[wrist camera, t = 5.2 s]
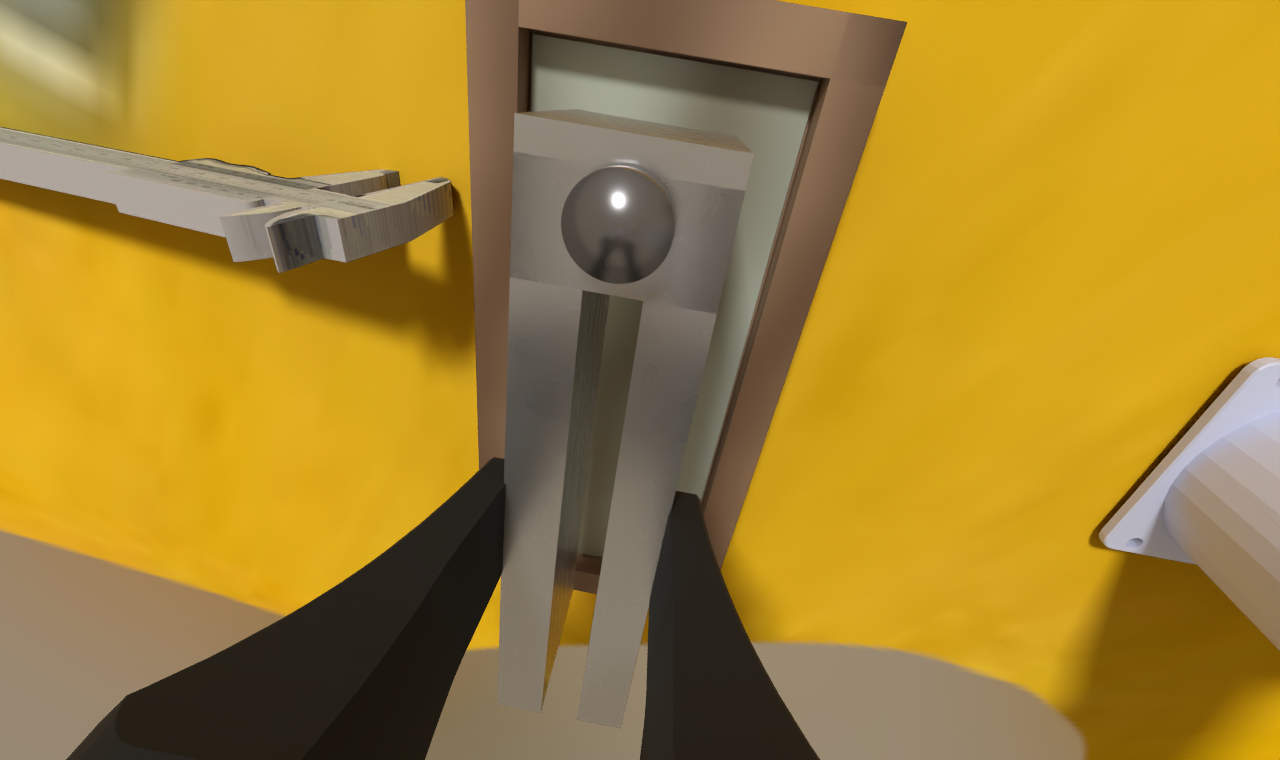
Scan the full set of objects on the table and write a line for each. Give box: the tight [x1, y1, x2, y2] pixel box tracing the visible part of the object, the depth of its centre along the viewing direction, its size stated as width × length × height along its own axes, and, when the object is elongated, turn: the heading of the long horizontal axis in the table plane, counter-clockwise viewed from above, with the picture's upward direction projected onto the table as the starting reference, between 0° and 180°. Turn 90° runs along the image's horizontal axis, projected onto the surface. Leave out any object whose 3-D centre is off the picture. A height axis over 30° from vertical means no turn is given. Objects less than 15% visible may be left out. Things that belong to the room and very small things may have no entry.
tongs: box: [498, 109, 754, 728], centre depth 12 cm, size 3×14×5 cm, turn 172°
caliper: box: [0, 127, 454, 273], centre depth 14 cm, size 20×1×6 cm, turn 84°
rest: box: [465, 0, 907, 594], centre depth 17 cm, size 9×20×2 cm, turn 172°
